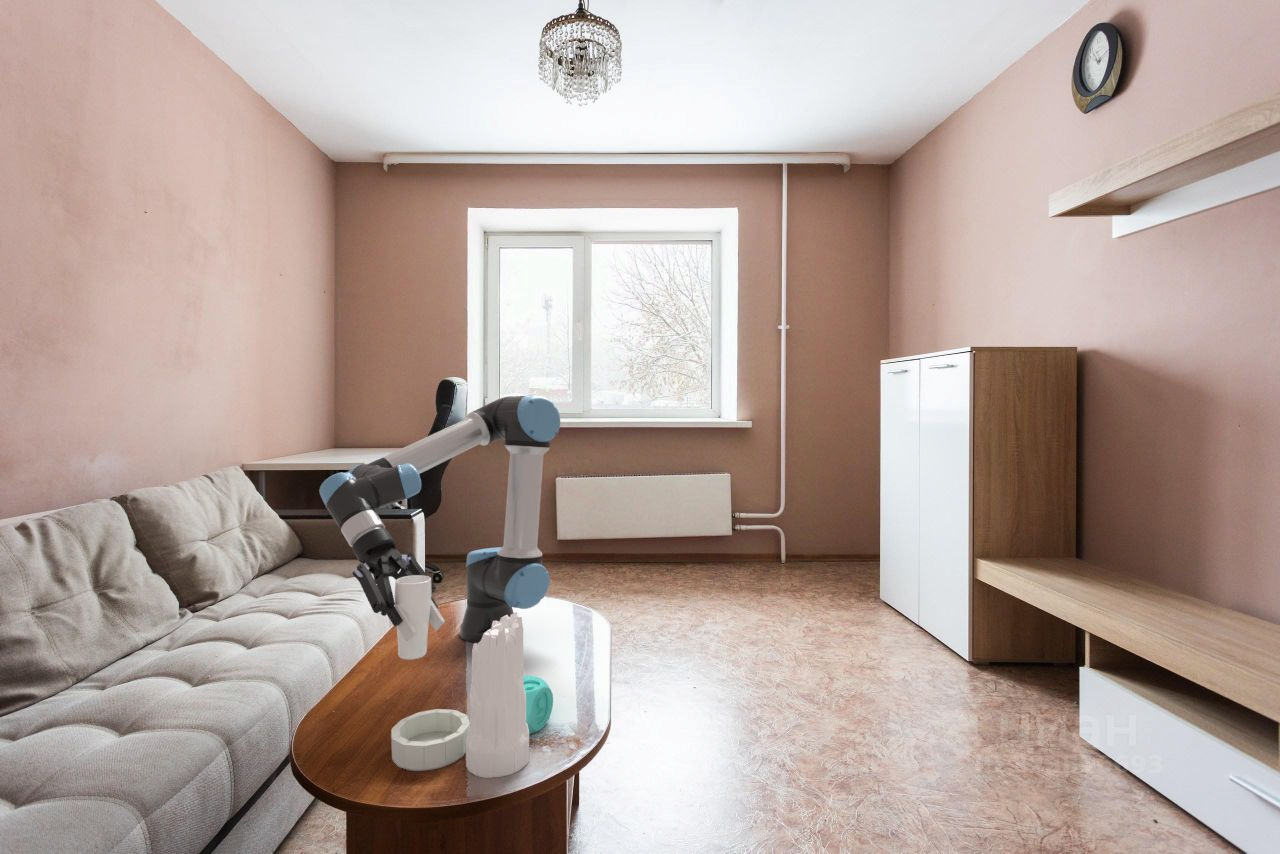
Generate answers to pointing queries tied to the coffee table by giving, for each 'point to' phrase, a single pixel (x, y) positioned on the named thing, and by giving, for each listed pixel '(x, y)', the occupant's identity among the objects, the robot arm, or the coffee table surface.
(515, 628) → the decorative vase
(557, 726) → the coffee table surface
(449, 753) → the dish
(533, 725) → the decorative dice
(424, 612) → the drinking glass
